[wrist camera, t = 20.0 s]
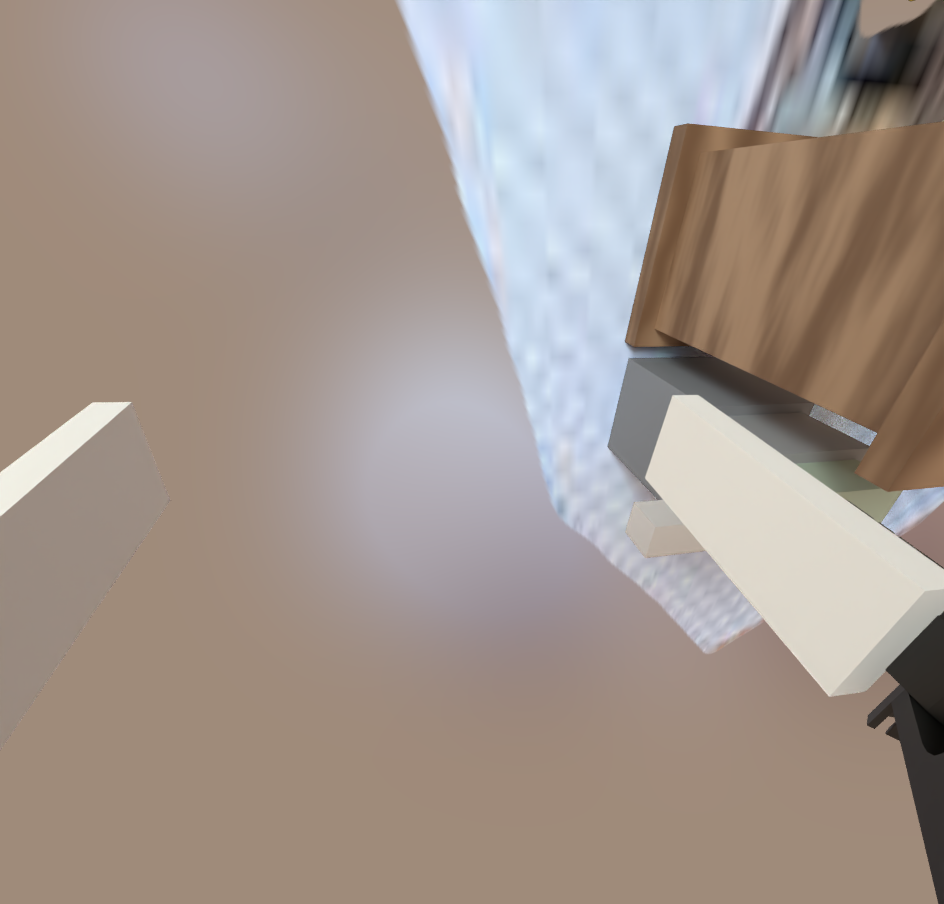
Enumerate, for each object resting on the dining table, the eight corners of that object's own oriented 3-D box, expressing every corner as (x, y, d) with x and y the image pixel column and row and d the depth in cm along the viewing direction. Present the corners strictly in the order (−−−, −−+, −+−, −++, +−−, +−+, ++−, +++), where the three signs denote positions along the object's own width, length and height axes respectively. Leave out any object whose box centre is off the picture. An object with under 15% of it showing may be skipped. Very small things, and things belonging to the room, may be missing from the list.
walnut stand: (624, 341, 50) (887, 491, 25) (674, 126, 40) (1202, 7, 15) (729, 340, 53) (1061, 475, 27) (799, 139, 43) (1427, 58, 17)
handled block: (618, 554, 36) (643, 591, 33) (642, 475, 32) (673, 507, 29) (813, 532, 40) (853, 563, 37) (855, 459, 36) (905, 486, 33)
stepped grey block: (607, 446, 57) (714, 559, 39) (628, 358, 51) (766, 444, 33) (687, 441, 59) (822, 546, 42) (716, 356, 53) (888, 436, 36)
